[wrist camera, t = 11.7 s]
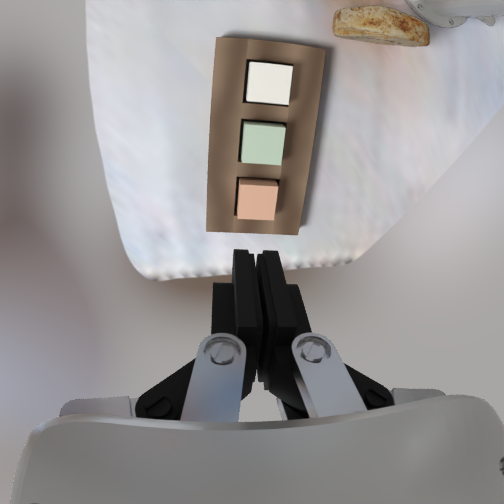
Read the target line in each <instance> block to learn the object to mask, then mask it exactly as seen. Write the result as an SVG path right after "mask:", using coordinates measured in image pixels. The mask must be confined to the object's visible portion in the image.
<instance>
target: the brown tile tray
mask: <svg viewBox="0 0 504 504" xmlns="http://www.w3.org/2000/svg"><path fill="white" fill-rule="evenodd" d="M325 52H326V50H325V49H320V48H315V47H309V46H303V45H297V44H290V43H283V42H275V41H266V40H256V39H244V38H227V37H216V47H215V58H214V71H213V84H212V99H211V115H210V133H209V154H208V180H207V218H206V232H233V233H258V234H281V235H298V232H299V227H300V221H301V215H302V210H303V204H304V198H305V192H306V186H307V180H308V174H309V168H310V162H311V155H312V149H313V142H314V136H315V129H316V122H317V115H318V108H319V100H320V93H321V85H322V77H323V69H324V61H325ZM250 62H259V63H269V64H278V65H286V66H293V70H292V79H291V88H290V96H289V105H284V104H275V103H265V102H253V101H247V100H246V92H247V81H248V70H249V63H250ZM244 121H251V122H264V123H275V124H282V125H283V126H284V127H285V128H286V130H285V138H284V146H283V154H282V162H281V165H269V164H254V163H242V160H241V151H242V139H243V127H244ZM239 177H243V178H260V179H275V180H276V182H277V185H278V193H277V201H276V209H275V216H274V220H253V219H238V217H237V203H238V190H239Z"/></svg>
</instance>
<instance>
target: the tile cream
mask: <svg viewBox="0 0 504 504" xmlns="http://www.w3.org/2000/svg"><path fill="white" fill-rule="evenodd" d="M292 70H293V66H286V65H278V64H269V63H259V62H250V63H249V70H248V81H247V92H246V100H247V101H253V102H265V103H275V104H284V105H289V96H290V88H291V79H292Z"/></svg>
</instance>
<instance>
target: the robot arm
mask: <svg viewBox="0 0 504 504" xmlns="http://www.w3.org/2000/svg"><path fill="white" fill-rule="evenodd" d="M406 2H407V3H408V4H409V5H410V7H411V8H412V9H413V10H414V11H415V12H416V13H417V14H418V15H419V16H420V17H422V18H423V19H424V20H426V21H428V22H429V23H431V24H433V25H436V26H439V27H444V28H452V27H457V26H459V25H461V24H462V23H463V22H464V21H465V20H466V18H467V16H472V17H474V18H479V19H480V20H481V21H483V22H484V23H486V24H487V25H489V26H492V25H494V23H495V19H494V17H493V16H504V0H406ZM211 328H212V329H211V335H210V336H208V337H206V338H205V339H204V340H203V341H202V342H201V343H200V345H199V348H198V352H197V356H196V358H195V359H193V360H192V361H191V362H189V363H188V364H186V365H185V366H183V367H182V368H181V369H179V370H178V371H176V372H175V373H173V374H172V375H170V376H169V377H167V378H166V379H164V380H163V381H161V382H160V383H159V384H157V385H156V386H154V387H153V388H151V389H150V390H148V391H147V392H145V393H144V394H143V395H141V396H140V397H139V398H132V399H130V398H129V396H125V397H124V396H123V397H110V398H94V399H75V400H70V401H69V402H67V403H66V404H65V405H64V406H63V407H62V408H61V411H60V415H59V417H56V418H53V419H50V420H47V421H45V422H43V423H41V424H39V425H38V426H36V427H35V428H34V429H33V430H32V432H31V433H30V435H29V437H28V438H27V440H26V442H25V445H24V447H23V450H22V453H21V455H20V459H19V462H18V465H17V469H16V473H15V478H14V482H13V487H12V493H11V500H10V504H504V425H503V423H502V421H501V419H500V418H499V416H498V414H497V413H496V411H495V410H494V408H493V407H492V406H491V405H490V404H489V403H488V402H487V401H485V400H483V399H481V398H477V397H474V396H467V395H445V393H443V392H442V391H440V390H436V389H405V388H393V389H392V390H391V391H389V390H388V389H387V388H385V387H384V386H383V385H381V384H379V383H377V382H375V381H374V380H372V379H370V378H369V377H367V376H365V375H363V374H362V373H360V372H358V371H356V370H355V369H353V368H351V367H350V366H348V365H346V364H344V363H343V361H342V359H341V357H340V355H339V354H338V352H337V350H336V348H335V346H334V344H333V343H332V342H331V341H330V340H329V339H328V338H326V337H325V336H323V335H321V334H317V333H312V331H311V328H310V324H309V321H308V317H307V314H306V310H305V307H304V303H303V300H302V297H301V294H300V290H299V287H298V285H297V284H286V280H285V277H284V272H283V268H282V265H281V261H280V257H279V253H278V251H269V250H263V253H262V254H258V255H257V262H256V266H255V259H254V254H249V251H248V250H240V249H234V253H233V268H232V283H213V301H212V327H211ZM256 370H257V374H258V381H259V382H264V390H269V392H271V393H272V394H274V395H275V396H276V397H277V398H276V399H277V405H278V408H279V411H280V414H281V417H282V420H283V421H268V422H266V421H265V422H238V420H239V411H240V402H241V400H243V399H244V398H245V397H246V396H247V395H248V394H249V393H250V392H251V389H252V383H253V382H254V381H255V376H256Z"/></svg>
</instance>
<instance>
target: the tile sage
mask: <svg viewBox="0 0 504 504" xmlns="http://www.w3.org/2000/svg"><path fill="white" fill-rule="evenodd" d="M285 130H286V128H285V127H284V126H283V125H282V124H275V123H264V122H251V121H244V127H243V139H242V151H241V160H242V163H254V164H269V165H281V162H282V154H283V146H284V138H285Z"/></svg>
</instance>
